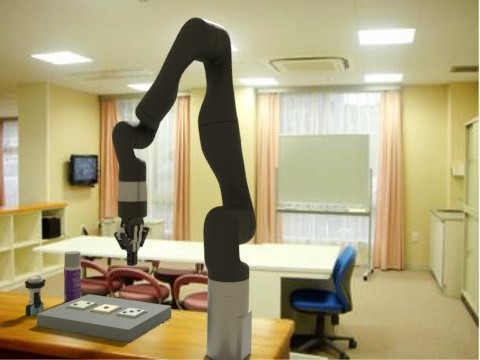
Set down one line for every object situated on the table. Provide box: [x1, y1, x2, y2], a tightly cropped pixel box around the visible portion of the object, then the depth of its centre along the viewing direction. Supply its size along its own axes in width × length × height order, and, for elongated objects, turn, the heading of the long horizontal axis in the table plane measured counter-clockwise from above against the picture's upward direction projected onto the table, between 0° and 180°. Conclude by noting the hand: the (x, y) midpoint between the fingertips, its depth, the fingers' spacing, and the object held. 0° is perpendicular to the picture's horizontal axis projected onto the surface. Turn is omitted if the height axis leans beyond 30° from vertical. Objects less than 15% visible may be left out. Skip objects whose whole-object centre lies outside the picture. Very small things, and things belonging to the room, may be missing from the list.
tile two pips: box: [68, 301, 96, 311], centre depth 127 cm, size 5×5×3 cm
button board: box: [36, 293, 172, 343], centre depth 124 cm, size 28×20×3 cm
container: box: [63, 250, 82, 304], centre depth 141 cm, size 5×5×15 cm
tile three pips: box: [118, 308, 145, 319], centre depth 122 cm, size 5×5×3 cm
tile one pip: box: [93, 304, 120, 315], centre depth 124 cm, size 5×5×3 cm
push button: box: [24, 275, 46, 317], centre depth 131 cm, size 7×5×10 cm
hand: (132, 265), depth 122 cm, fingers closed
